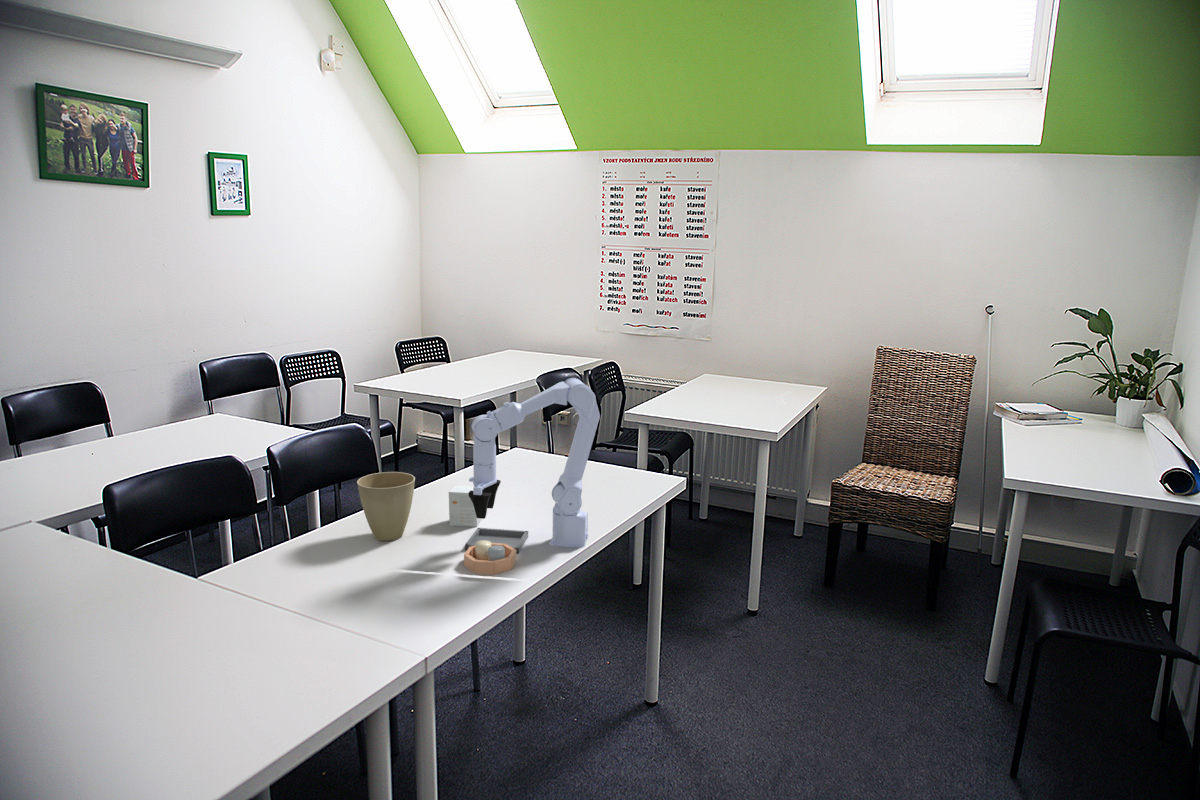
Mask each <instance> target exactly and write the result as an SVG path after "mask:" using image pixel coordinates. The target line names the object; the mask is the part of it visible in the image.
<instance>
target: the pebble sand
mask: <svg viewBox="0 0 1200 800" xmlns="http://www.w3.org/2000/svg"><path fill="white" fill-rule="evenodd" d="M489 547H491V542H490V541H487V540H482V541H478V542H476V543H475V559H476V560H487V561H488V548H489Z"/></svg>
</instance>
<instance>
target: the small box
mask: <svg viewBox="0 0 1200 800" xmlns="http://www.w3.org/2000/svg"><path fill="white" fill-rule="evenodd" d="M473 487H474V486H467V485H466V486H464V485H454V486H453V487H452V488H451V489H450V490H449V491H448V510H449V511H448V512H449V513H448V514H449V515H448V516H449V520H448V521H449V526H452V527H453V526H455V527H456V526H457V527H472V528H478V526H479V525H480V524H481V522H482V519H481V518H477V517H476V513H475V509H474V505H473V503H472V501H471V499H470V497H469V495H468V493H469V492H470V490H471V491H473Z"/></svg>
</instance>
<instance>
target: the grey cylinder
mask: <svg viewBox="0 0 1200 800" xmlns="http://www.w3.org/2000/svg"><path fill="white" fill-rule="evenodd" d="M503 558H505V548H504V547H503V546H499V545H495V546H491V547H489V548H488V561H495V560H499V559H503Z"/></svg>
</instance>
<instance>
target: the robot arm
mask: <svg viewBox="0 0 1200 800" xmlns="http://www.w3.org/2000/svg"><path fill="white" fill-rule="evenodd" d="M596 398H597V397H596V394H595V392H593V390H592V389H591V388H590V387H589V386H588V385H587V384H585V383H584V382H582V380H581V379H579V378H577V377H571V378H568V379H565V381H559V382H558V383H555V384H554V385H552V386H550V387H548V388H547V389H545V390H543V391H541V392H539V393H537V394H535V395H534V396H532V397H530V398H528V399H526V400H525V401H522V402H521V403H518V402H515V401H512V402H509V401H506V402H504V403H503V406H501V407H499V408H497V409H495V410H492V411H491V410H489V411H487V412H486V414H481V415H478V416H476V417H474V420H473V421H472V423H471V431H472V432H473V445H472V447H473V448H472V449H473V451H472V453H473V454H472V456H473V457H472V458H473V461H472V462H473V476H470V477H469V478H468V482H471V483H472V484H473V486H472V487H473V491H471V490H470V492H469V493H468V495H469V497H470V499H471V501H472V503H473V505H474V509H475V513H476V517H477V518H481V519H483V520H484V519H486V517H487V513H488V509H493V508H494V505H495V502H496V501H495V500H496V495H497V492H498V490H499V486H500V484H501V482H502V481H501V480H500V479H498V478H497V445H496V437H497V436H498V434H499V433H503V432H504V431H506V430H508V429H509V430H510V428H513V427H514V426H517V425H519V424H521V423H523V422H524V420H525V418H526V416H528V415H530V414H533V413H534V412H536V411H539V410H542V409H543V408H546V407H548V406H551V405H553V404H557V405H562V406H567V405H568V403H569V404H570V405H571V406H572V407H573V409H574V411H575V412H576V413H577V415H578V420H577V424H576V425H577V426H576V428H575V431H574V435H573V437H572V438H573V439H572V443H571V446H570V449H569V452H568V456H567V460H566V463H565V467H564V469H563V473H562V474H560V476H559V479H558V481H557V483H556V484H555V485H554V486H553V488H552V489H551V490H552V491H551V498H552V500H553V501H554V502H555V504H554V506H553V507H552V536H551V539H550V542H549V543H548V545H549V546H555V547H568V548H569V547H570V548H571V547H572V548H582V549H583V548H585V547H586V544H587V540H588V538H589V513H588V511H583V510H581V507H582V506H583V505H582V504H583V501H582V493H583V481H582V480H583V476H584V474H585V470H586V466H587V462H588V459H589V456H590V452H591V449H592V447H593V442H594V439H595V436H596V431H597V429H598V424H599V422H600V418H601V414H600V410H599V407H598V404H597V399H596Z"/></svg>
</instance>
